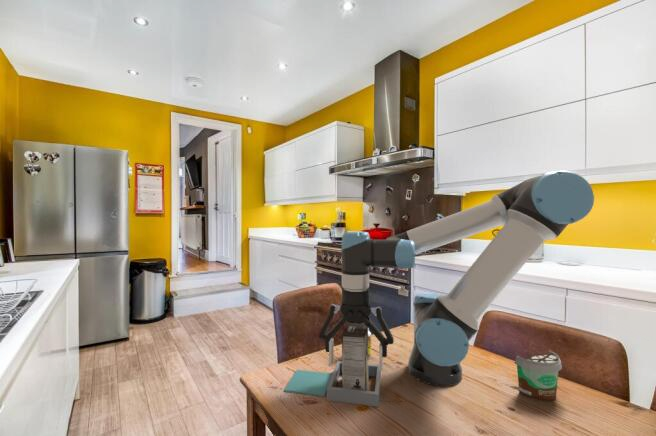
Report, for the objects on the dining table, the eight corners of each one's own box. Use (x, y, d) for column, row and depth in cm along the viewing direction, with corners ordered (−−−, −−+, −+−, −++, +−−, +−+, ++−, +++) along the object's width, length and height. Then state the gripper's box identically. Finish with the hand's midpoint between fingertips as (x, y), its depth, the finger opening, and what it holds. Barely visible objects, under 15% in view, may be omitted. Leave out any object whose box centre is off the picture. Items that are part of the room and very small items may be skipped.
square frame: (381, 375, 89) (381, 365, 89) (378, 406, 74) (378, 394, 74) (337, 370, 92) (337, 361, 92) (326, 400, 77) (326, 388, 77)
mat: (332, 374, 89) (332, 373, 89) (324, 396, 79) (324, 394, 79) (296, 371, 92) (296, 369, 92) (284, 391, 81) (284, 389, 81)
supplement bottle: (363, 362, 97) (363, 330, 97) (350, 356, 101) (350, 326, 101) (374, 356, 101) (374, 325, 101) (361, 351, 105) (361, 321, 105)
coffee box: (346, 377, 88) (346, 322, 88) (368, 379, 87) (368, 323, 87) (341, 395, 79) (341, 334, 79) (366, 398, 78) (366, 335, 78)
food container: (536, 408, 74) (536, 366, 73) (514, 393, 79) (514, 355, 79) (574, 399, 77) (574, 360, 77) (550, 386, 83) (550, 349, 83)
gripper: (402, 287, 84) (402, 363, 84) (314, 283, 89) (315, 355, 89) (402, 294, 77) (403, 378, 77) (307, 289, 82) (308, 368, 82)
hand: (355, 366), depth 83 cm, fingers open, 13 cm apart
